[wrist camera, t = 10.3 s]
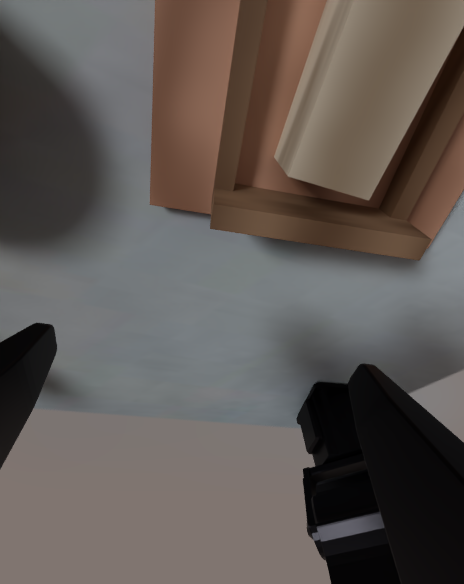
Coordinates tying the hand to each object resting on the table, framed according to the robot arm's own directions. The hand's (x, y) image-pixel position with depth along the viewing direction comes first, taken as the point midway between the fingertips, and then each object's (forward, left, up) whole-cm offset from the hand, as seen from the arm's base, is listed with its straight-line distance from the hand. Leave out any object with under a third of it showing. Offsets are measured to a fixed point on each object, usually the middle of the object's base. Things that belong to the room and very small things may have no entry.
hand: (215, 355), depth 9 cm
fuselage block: (-5, -9, -11) cm, 15 cm away
